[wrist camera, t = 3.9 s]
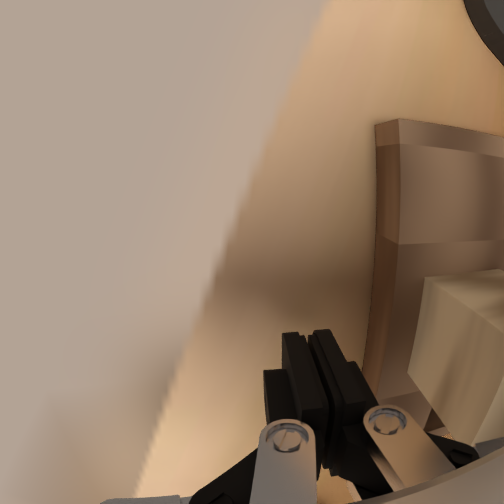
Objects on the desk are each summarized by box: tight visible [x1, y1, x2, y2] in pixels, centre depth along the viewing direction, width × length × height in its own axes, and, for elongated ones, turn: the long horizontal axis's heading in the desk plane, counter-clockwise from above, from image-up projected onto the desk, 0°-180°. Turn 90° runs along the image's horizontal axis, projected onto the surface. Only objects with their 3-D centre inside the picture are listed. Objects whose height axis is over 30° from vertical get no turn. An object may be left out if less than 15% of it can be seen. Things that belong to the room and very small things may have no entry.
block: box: [407, 269, 504, 447], centre depth 10 cm, size 5×5×6 cm
